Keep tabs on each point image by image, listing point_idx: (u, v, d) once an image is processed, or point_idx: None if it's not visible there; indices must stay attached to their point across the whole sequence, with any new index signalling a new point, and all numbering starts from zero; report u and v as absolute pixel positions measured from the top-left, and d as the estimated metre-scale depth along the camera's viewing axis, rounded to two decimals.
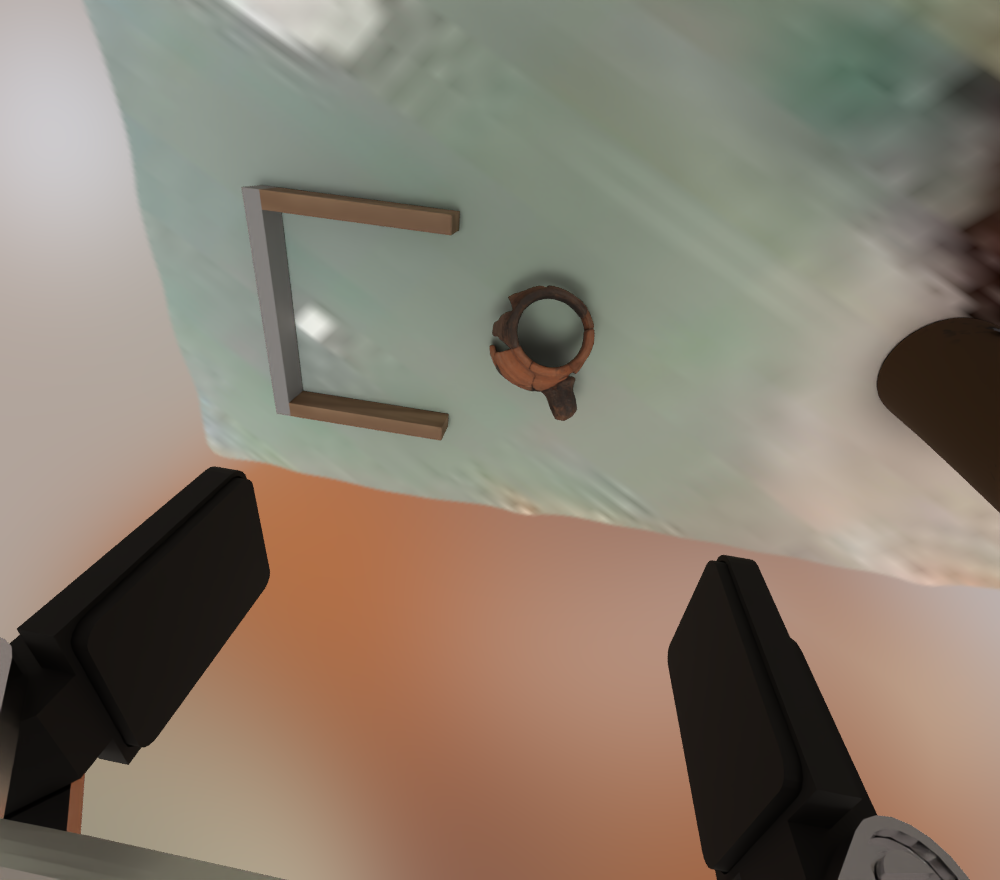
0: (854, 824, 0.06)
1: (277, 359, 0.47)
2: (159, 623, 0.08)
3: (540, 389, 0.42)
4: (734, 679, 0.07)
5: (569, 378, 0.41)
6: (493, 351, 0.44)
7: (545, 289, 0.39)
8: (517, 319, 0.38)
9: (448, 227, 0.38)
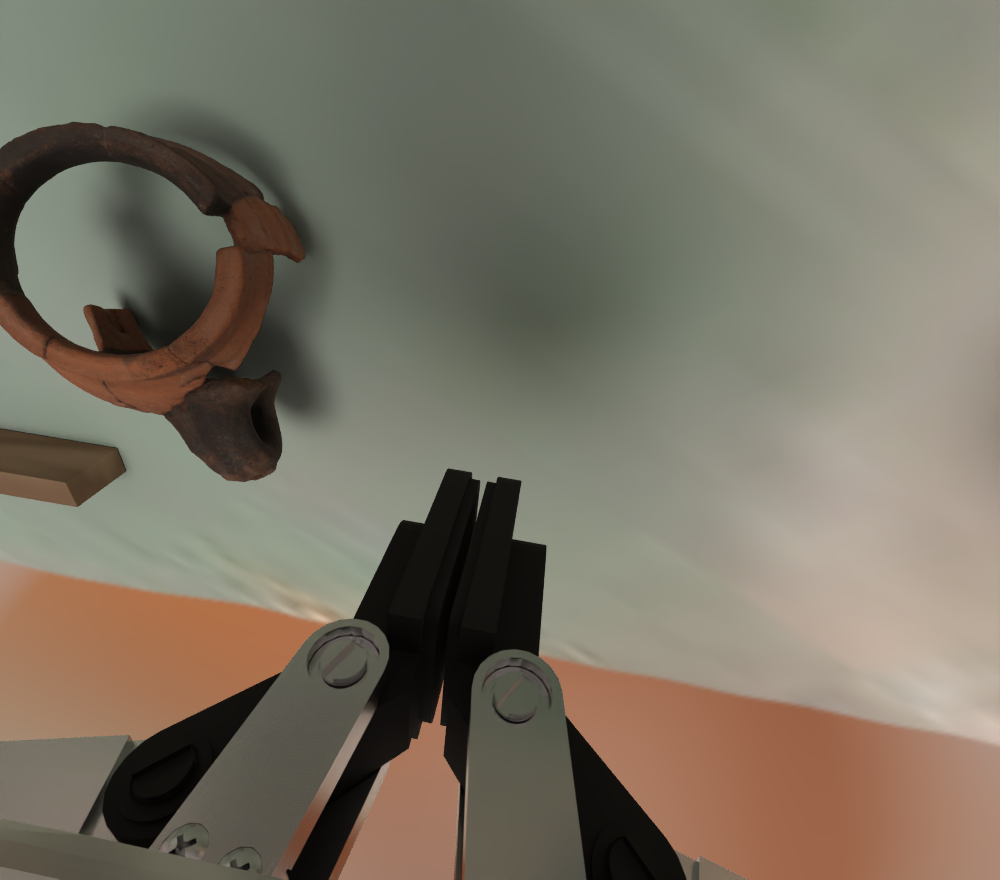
0: None
1: None
2: (449, 610, 0.08)
3: (155, 411, 0.17)
4: None
5: (217, 382, 0.16)
6: (90, 319, 0.19)
7: (70, 126, 0.13)
8: None
9: None
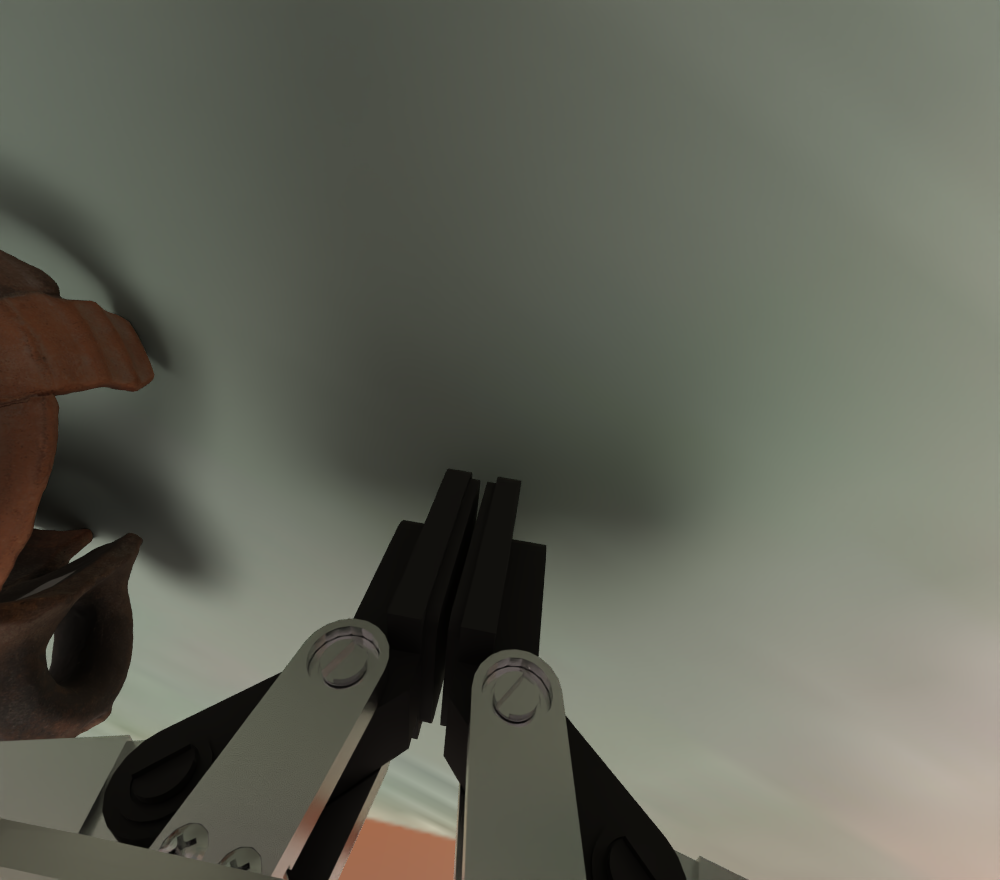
0: None
1: None
2: (449, 611, 0.08)
3: None
4: None
5: None
6: None
7: None
8: None
9: None
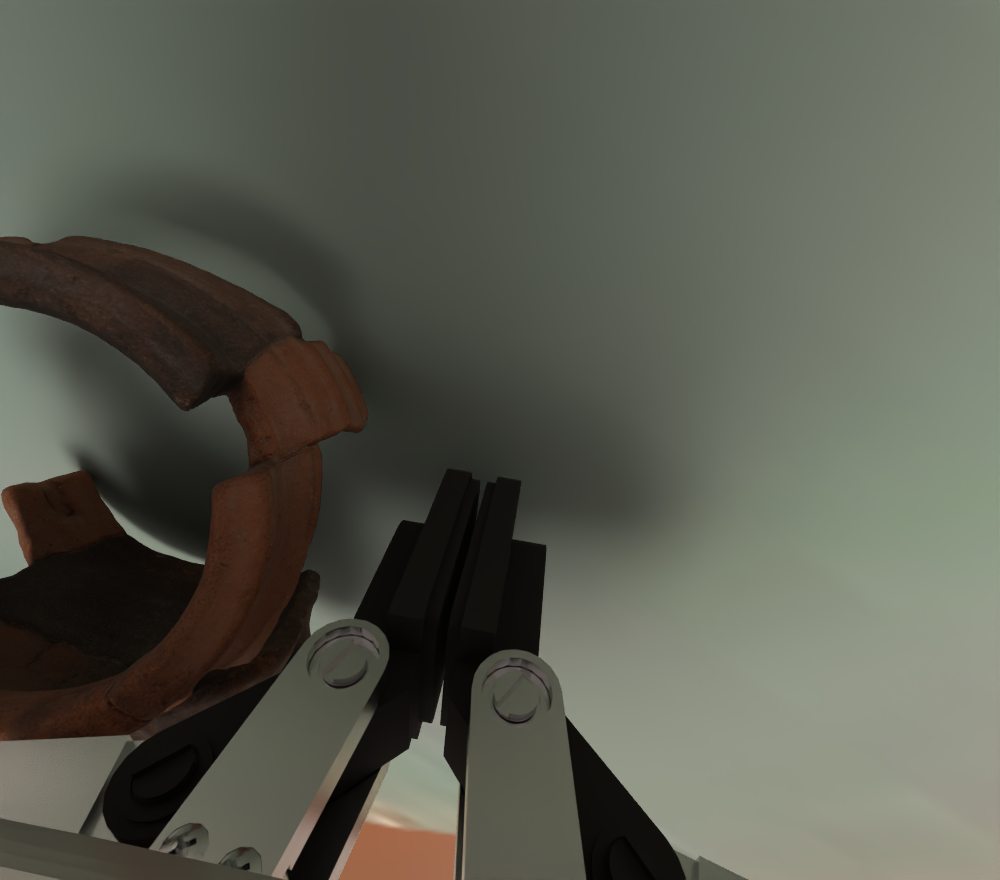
0: None
1: None
2: (449, 611, 0.08)
3: None
4: None
5: (216, 688, 0.08)
6: (12, 511, 0.11)
7: None
8: None
9: None
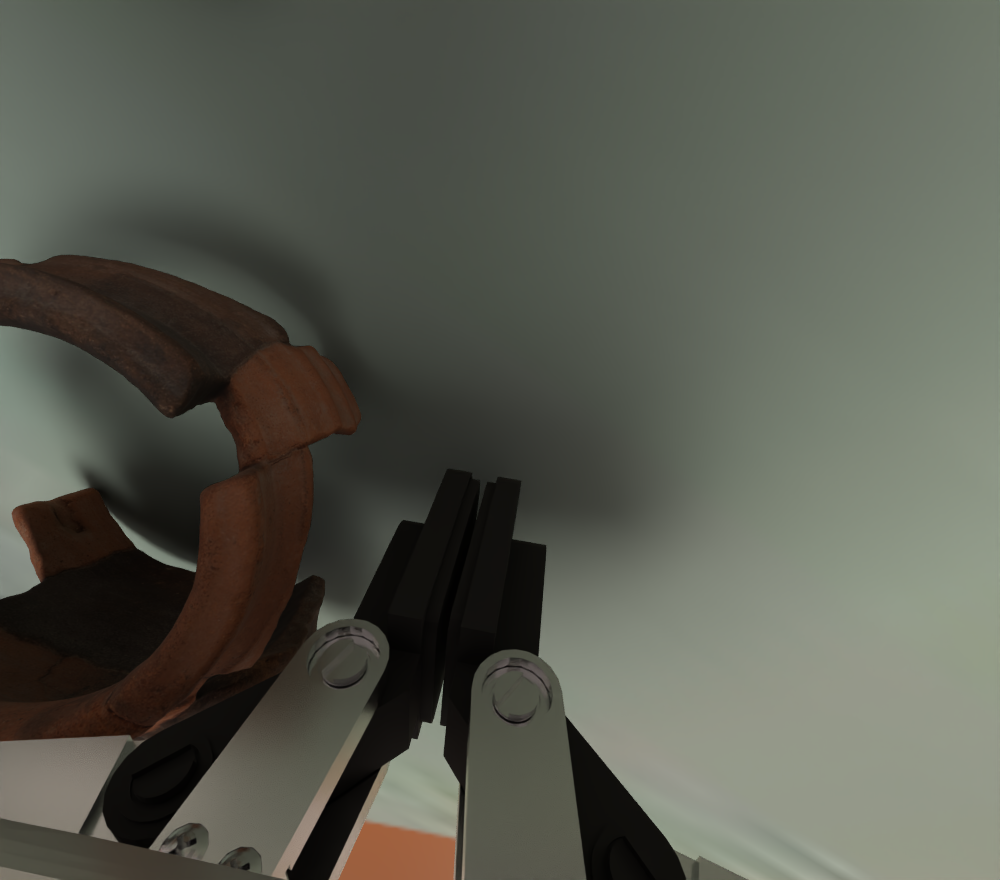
0: None
1: None
2: (449, 611, 0.08)
3: None
4: None
5: (219, 694, 0.09)
6: (23, 529, 0.12)
7: None
8: None
9: None
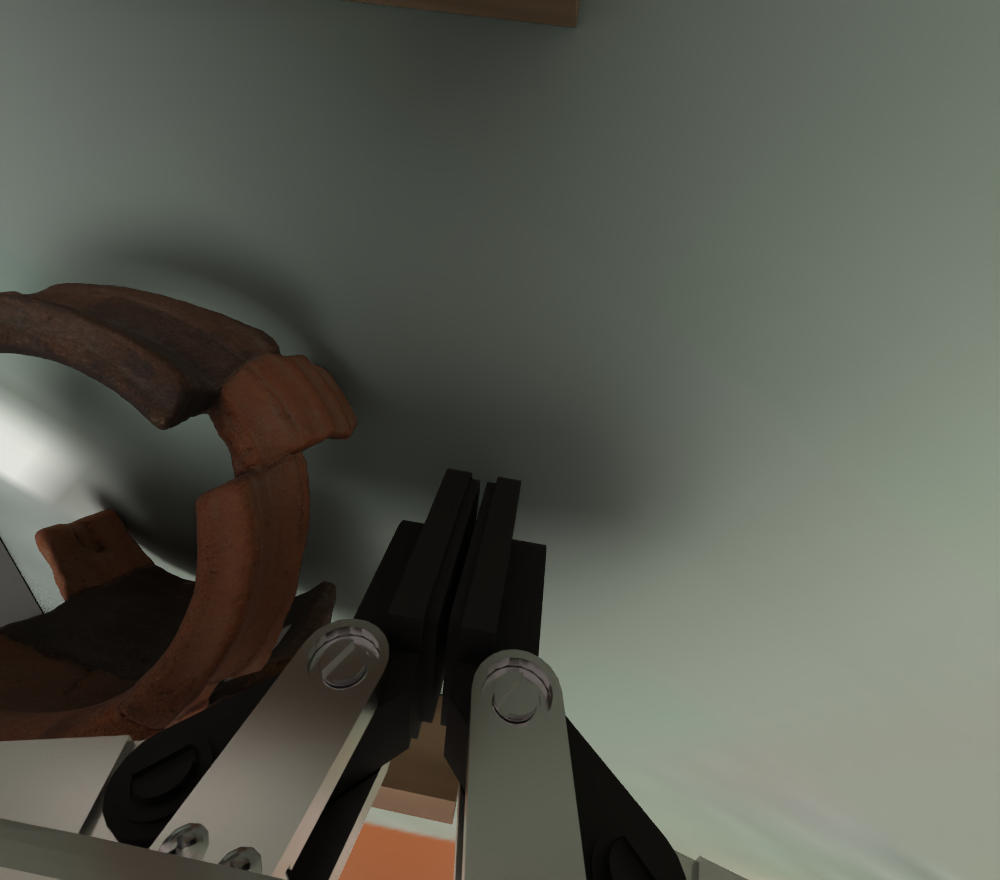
0: None
1: None
2: (449, 611, 0.08)
3: None
4: None
5: None
6: (45, 551, 0.12)
7: None
8: None
9: None
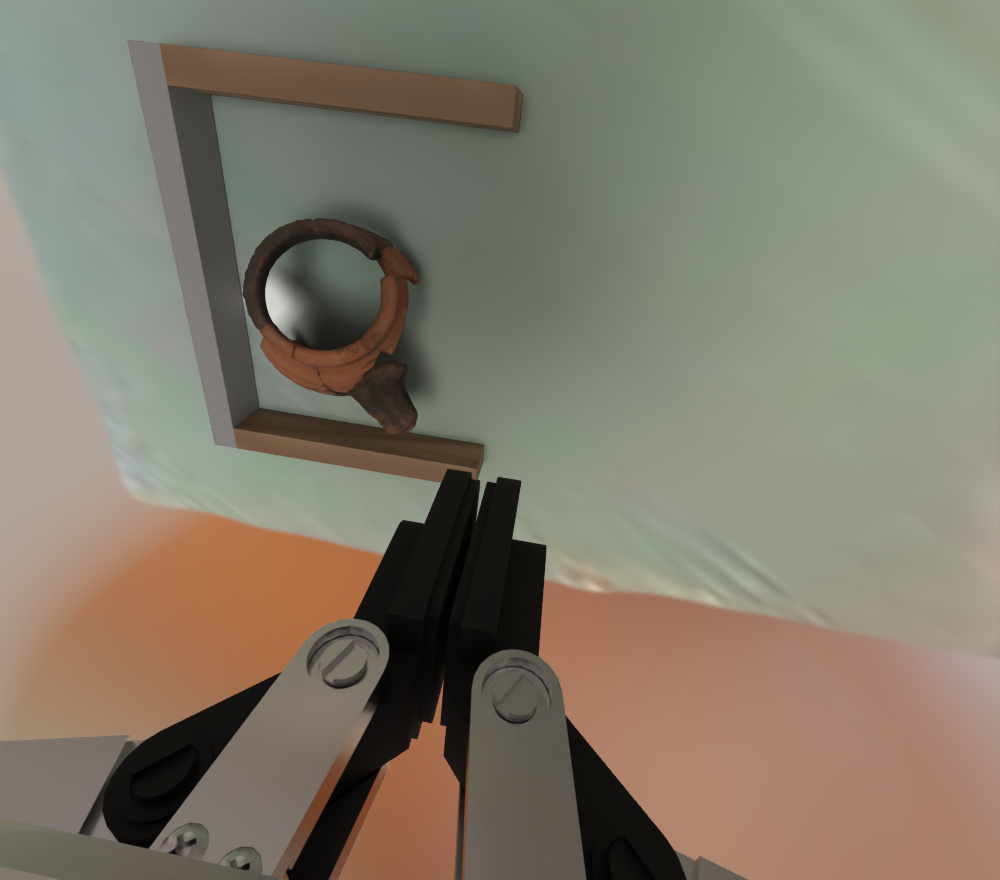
0: None
1: (211, 358, 0.29)
2: (449, 610, 0.08)
3: (343, 390, 0.26)
4: None
5: (382, 364, 0.25)
6: None
7: (296, 223, 0.23)
8: (255, 280, 0.23)
9: (508, 111, 0.21)
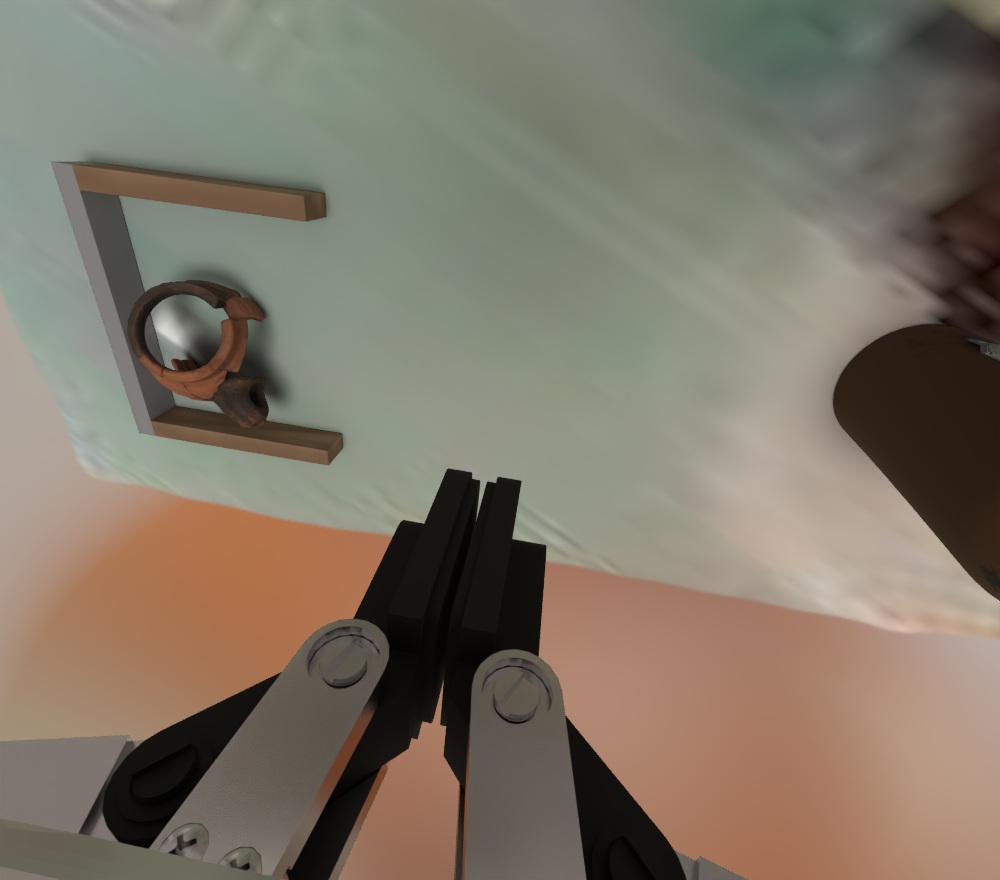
0: None
1: (129, 370, 0.39)
2: (449, 611, 0.08)
3: (207, 397, 0.37)
4: None
5: (230, 379, 0.36)
6: (175, 365, 0.40)
7: (161, 285, 0.34)
8: (134, 324, 0.34)
9: (301, 211, 0.31)
